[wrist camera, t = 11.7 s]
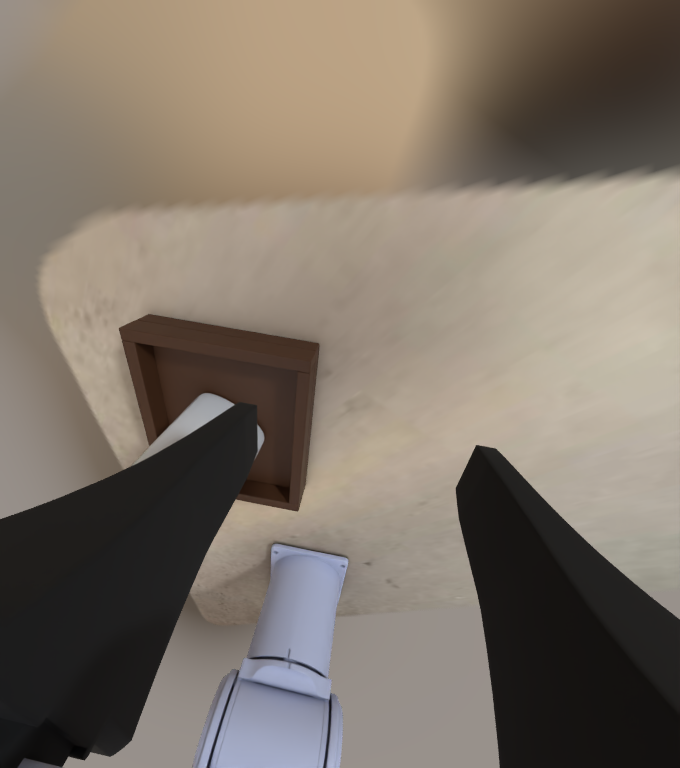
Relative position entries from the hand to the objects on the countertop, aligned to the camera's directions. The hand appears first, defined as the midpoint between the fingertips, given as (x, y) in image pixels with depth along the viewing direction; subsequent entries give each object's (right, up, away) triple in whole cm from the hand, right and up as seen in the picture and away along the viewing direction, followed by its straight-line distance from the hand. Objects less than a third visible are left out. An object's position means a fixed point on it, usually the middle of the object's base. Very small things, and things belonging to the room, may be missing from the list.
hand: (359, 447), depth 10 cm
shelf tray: (-9, 0, +13) cm, 16 cm away
